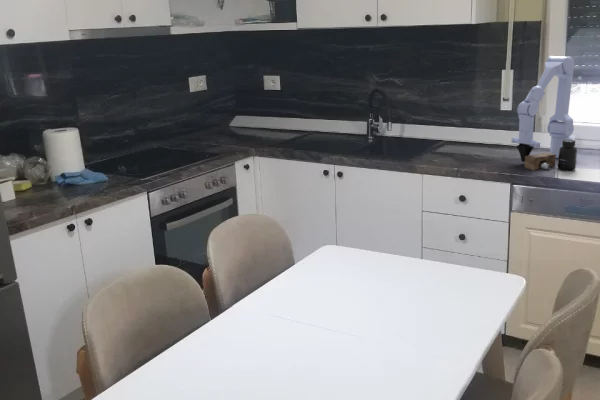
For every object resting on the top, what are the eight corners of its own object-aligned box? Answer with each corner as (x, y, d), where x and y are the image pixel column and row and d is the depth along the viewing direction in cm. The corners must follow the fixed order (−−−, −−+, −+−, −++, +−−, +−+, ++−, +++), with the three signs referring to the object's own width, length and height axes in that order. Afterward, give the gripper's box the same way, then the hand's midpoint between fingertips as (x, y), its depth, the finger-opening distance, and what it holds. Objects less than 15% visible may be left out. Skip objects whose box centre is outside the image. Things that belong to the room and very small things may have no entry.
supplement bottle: (557, 170, 254) (559, 142, 251) (557, 167, 260) (559, 138, 257) (575, 171, 252) (578, 142, 248) (575, 167, 258) (577, 139, 254)
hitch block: (546, 163, 266) (546, 152, 265) (555, 166, 262) (555, 154, 260) (524, 167, 261) (525, 156, 260) (533, 170, 257) (534, 158, 256)
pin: (526, 166, 263) (527, 159, 262) (536, 164, 265) (537, 157, 264) (542, 170, 255) (543, 163, 254) (553, 169, 257) (553, 161, 257)
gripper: (506, 128, 269) (505, 159, 272) (531, 133, 256) (529, 165, 260) (519, 127, 271) (517, 157, 275) (544, 131, 259) (542, 163, 263)
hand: (524, 161), depth 268 cm, fingers closed
